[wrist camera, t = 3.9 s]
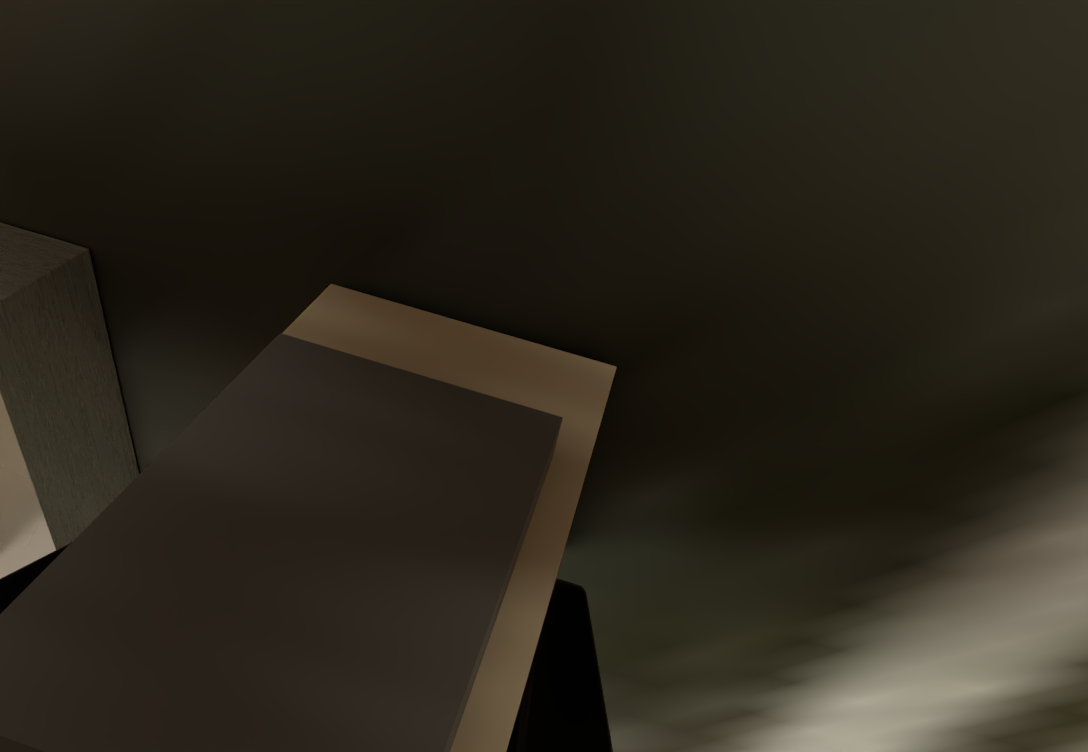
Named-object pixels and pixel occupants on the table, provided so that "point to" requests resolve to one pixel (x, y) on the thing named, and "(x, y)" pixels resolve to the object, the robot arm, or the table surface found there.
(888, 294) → the table surface
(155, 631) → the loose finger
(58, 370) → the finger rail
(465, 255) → the table surface
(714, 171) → the table surface
